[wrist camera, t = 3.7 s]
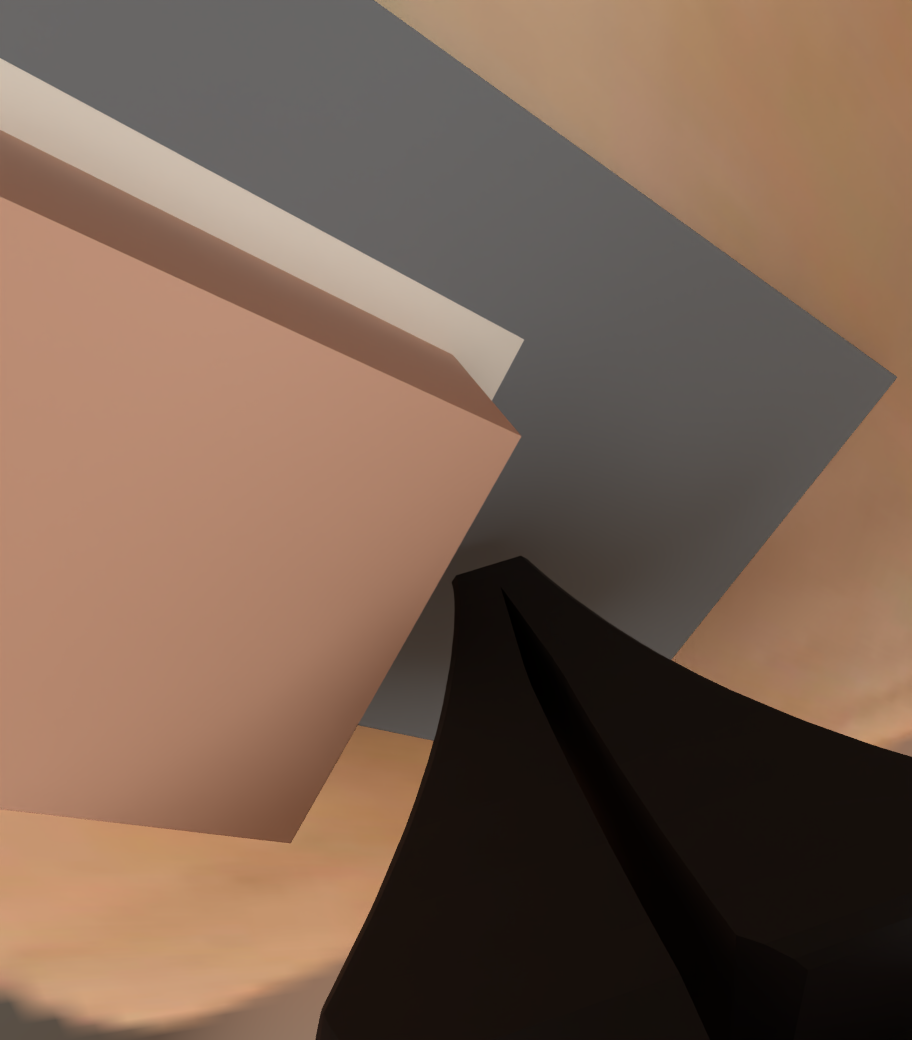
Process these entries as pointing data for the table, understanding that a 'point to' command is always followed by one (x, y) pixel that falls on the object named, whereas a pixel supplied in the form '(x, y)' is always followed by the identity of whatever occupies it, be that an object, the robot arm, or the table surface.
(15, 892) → the table surface
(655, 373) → the letter mat
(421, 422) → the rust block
